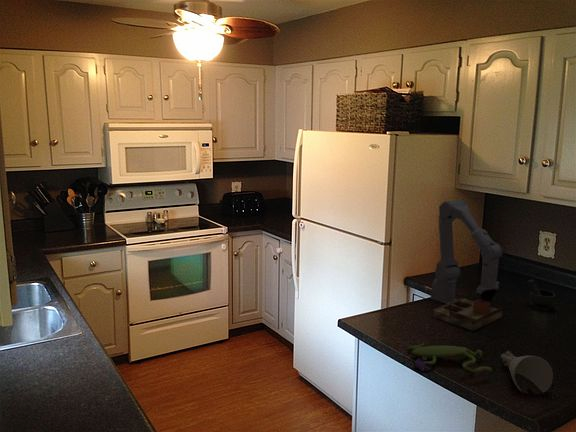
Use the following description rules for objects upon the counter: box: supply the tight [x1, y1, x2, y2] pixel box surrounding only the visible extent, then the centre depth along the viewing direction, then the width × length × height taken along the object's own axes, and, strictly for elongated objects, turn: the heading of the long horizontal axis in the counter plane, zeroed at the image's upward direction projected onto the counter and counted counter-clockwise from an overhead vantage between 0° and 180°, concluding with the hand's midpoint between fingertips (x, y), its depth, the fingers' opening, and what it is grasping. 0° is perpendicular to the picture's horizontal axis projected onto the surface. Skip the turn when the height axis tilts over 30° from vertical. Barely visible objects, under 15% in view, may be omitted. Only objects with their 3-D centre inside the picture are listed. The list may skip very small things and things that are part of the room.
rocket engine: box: [500, 350, 554, 394], centre depth 161 cm, size 12×12×18 cm
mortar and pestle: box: [527, 278, 557, 312], centre depth 219 cm, size 11×9×12 cm
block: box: [473, 298, 491, 315], centre depth 206 cm, size 4×4×4 cm
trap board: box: [431, 297, 504, 332], centre depth 208 cm, size 18×22×5 cm
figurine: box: [407, 342, 492, 373], centre depth 169 cm, size 18×27×6 cm
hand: (485, 306), depth 208 cm, fingers closed
